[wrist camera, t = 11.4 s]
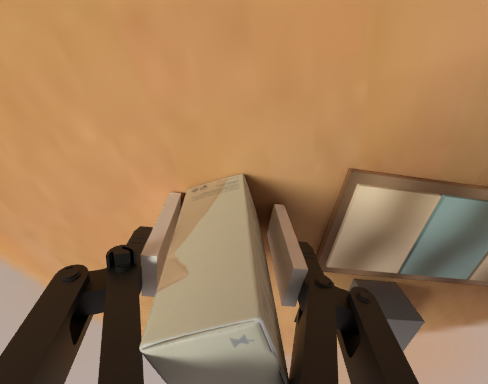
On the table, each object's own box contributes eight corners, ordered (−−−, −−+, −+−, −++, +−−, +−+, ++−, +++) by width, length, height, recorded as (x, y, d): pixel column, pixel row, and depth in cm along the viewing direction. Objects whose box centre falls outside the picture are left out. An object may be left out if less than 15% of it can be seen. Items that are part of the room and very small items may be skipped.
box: (185, 187, 18) (129, 344, 8) (245, 171, 17) (263, 314, 8) (210, 244, 20) (189, 419, 10) (262, 231, 20) (294, 399, 10)
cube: (339, 308, 24) (357, 350, 21) (353, 278, 23) (376, 318, 19) (377, 311, 25) (402, 352, 21) (395, 281, 23) (424, 321, 20)
